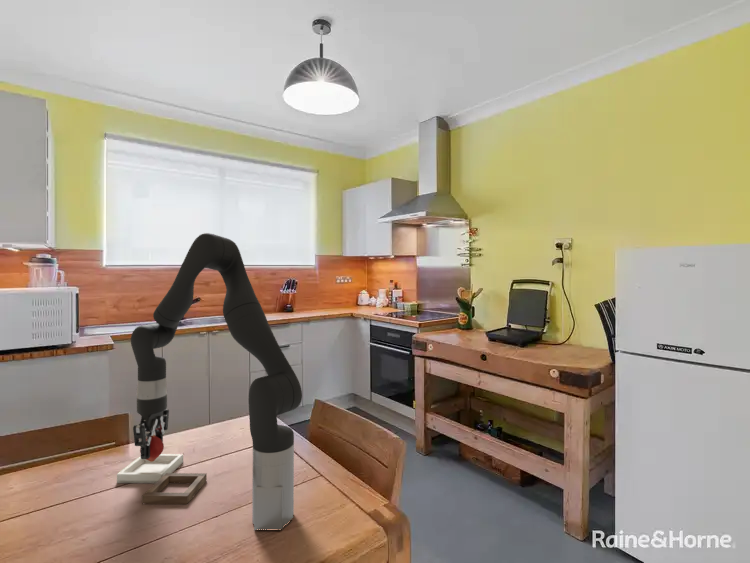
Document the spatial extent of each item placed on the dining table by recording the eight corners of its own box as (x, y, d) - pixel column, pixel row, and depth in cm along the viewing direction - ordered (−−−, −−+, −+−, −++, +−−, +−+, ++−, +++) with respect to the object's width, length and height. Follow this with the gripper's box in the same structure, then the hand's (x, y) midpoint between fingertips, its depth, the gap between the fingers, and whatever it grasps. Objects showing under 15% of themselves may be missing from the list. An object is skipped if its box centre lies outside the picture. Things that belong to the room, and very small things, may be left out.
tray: (161, 483, 105) (161, 474, 105) (116, 483, 105) (116, 474, 105) (183, 462, 117) (183, 454, 117) (143, 461, 117) (143, 453, 117)
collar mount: (187, 504, 95) (187, 496, 95) (142, 503, 95) (142, 495, 95) (206, 480, 106) (206, 473, 106) (166, 480, 106) (166, 473, 106)
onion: (135, 463, 110) (135, 434, 110) (155, 455, 115) (155, 427, 115) (148, 468, 107) (148, 439, 107) (167, 459, 112) (167, 431, 112)
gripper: (150, 402, 103) (150, 465, 104) (178, 387, 118) (178, 442, 118) (122, 402, 103) (122, 465, 104) (153, 387, 118) (153, 442, 118)
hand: (152, 452), depth 111 cm, fingers closed on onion, 6 cm apart
